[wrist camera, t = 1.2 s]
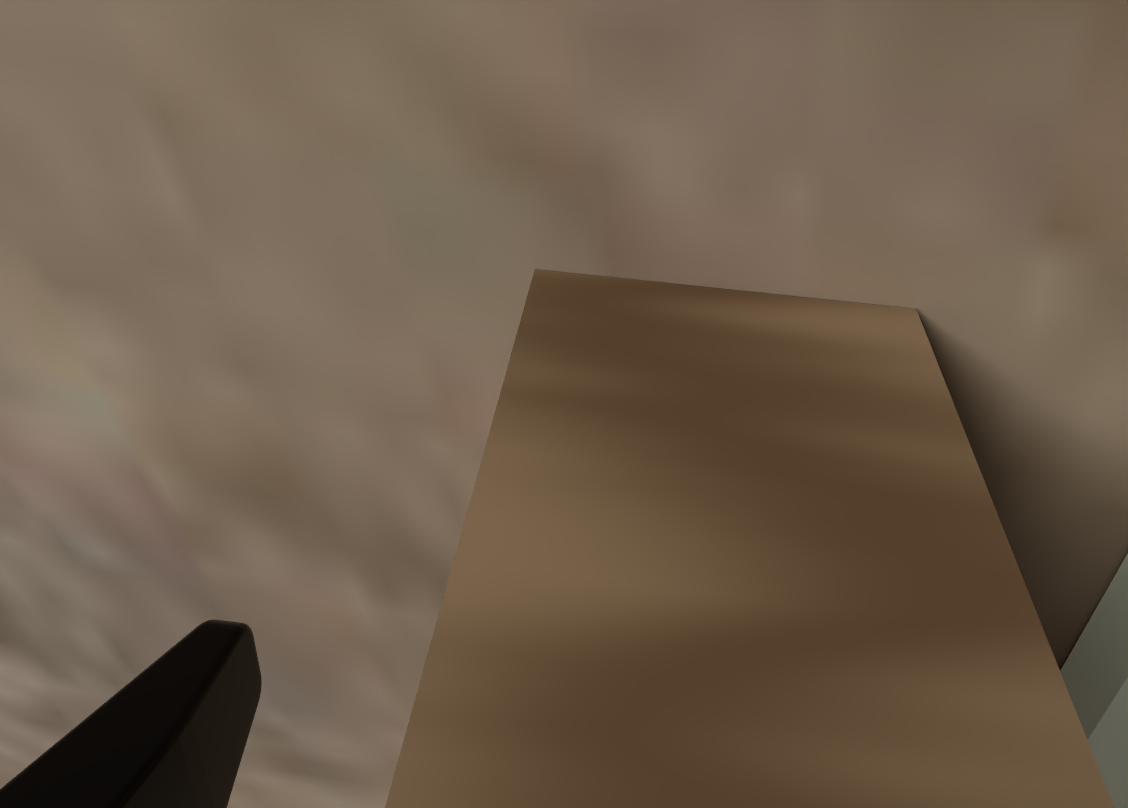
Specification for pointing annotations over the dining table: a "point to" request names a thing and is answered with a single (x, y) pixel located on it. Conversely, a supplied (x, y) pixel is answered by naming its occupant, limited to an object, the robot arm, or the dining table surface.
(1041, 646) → the peg
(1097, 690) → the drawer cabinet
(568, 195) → the dining table surface
